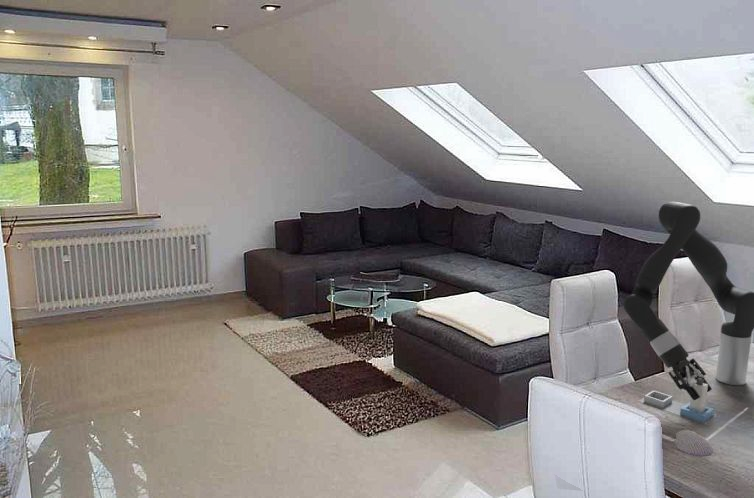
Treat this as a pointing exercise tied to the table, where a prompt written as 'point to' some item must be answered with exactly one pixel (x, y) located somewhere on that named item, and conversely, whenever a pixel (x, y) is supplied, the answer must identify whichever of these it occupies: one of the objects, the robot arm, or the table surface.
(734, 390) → the table surface
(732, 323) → the robot arm
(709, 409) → the socket
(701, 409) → the white knobbed square peg
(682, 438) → the seashell
